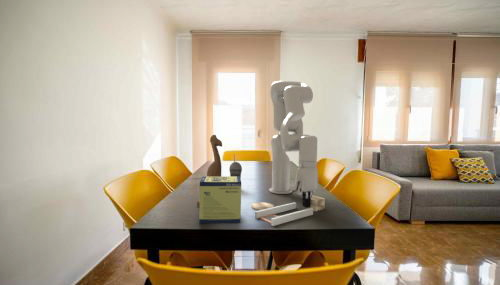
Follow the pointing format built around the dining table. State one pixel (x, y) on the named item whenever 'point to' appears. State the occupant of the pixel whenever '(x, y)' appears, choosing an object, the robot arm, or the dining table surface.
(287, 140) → the robot arm
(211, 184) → the protein box
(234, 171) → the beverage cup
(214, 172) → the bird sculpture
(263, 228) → the dining table surface
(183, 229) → the dining table surface
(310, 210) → the channel
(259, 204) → the coaster
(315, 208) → the block
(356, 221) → the dining table surface
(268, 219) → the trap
